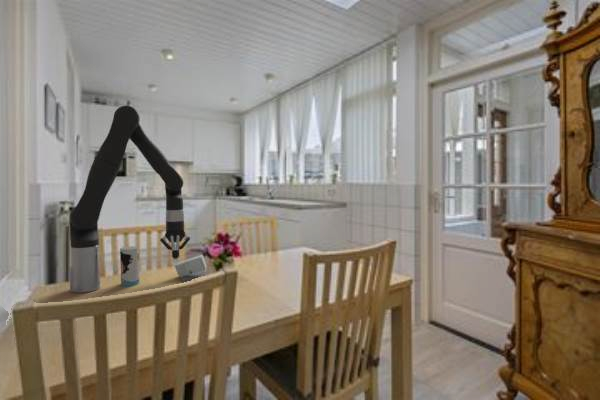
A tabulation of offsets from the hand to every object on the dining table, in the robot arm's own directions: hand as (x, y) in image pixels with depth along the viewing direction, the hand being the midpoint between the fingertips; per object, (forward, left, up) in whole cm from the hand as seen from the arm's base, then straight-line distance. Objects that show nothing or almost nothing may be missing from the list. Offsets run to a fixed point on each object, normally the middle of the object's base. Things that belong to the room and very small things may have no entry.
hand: (175, 258), depth 147 cm
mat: (+8, 0, -8) cm, 12 cm away
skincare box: (+1, -1, -5) cm, 5 cm away
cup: (-18, -5, -8) cm, 20 cm away
